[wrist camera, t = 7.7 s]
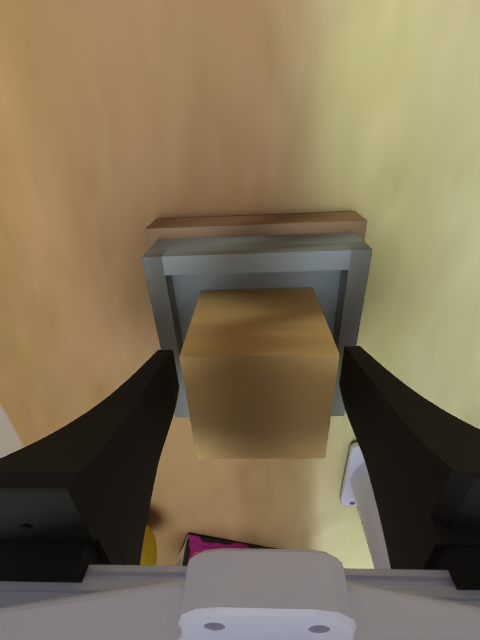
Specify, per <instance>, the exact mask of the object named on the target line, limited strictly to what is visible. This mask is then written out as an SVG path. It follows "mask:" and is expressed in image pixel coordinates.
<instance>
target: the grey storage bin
mask: <svg viewBox="0 0 480 640" xmlns="http://www.w3.org/2000/svg"><path fill="white" fill-rule="evenodd" d="M366 224H367V220H366V219H364V218H363V217H362V216H360V215H359V214H358V213H356V212H355V211H344V212H319V213H294V214H269V215H244V216H219V217H194V218H169V219H156V220H155V221H154V222H152V223H151V224H150V225H149V226H148V227H147V228H146V229H145V231H146V236H147V241H148V246H149V250H148V251H147V252H146V253H145V254H144V255H143V256H142V261H143V266H144V271H145V275H146V280H147V285H148V290H149V294H150V299H151V304H152V309H153V313H154V318H155V323H156V328H157V332H158V337H159V342H160V347H161V350H173V354H174V360H175V365H176V370H177V375H178V381H179V392H178V398H177V403H176V408H175V411H174V413H175V417H190V415H189V410H188V404H187V398H186V392H185V387H184V381H183V375H182V369H181V364H180V358H179V357H180V353H181V350H182V347H183V344H184V341H185V338H186V335H187V332H188V329H189V326H190V323H191V320H192V316H193V313H194V310H195V307H196V304H197V301H198V298H199V295H200V292H201V290H221V289H259V288H298V287H313V290H314V292H315V295H316V297H317V300H318V302H319V304H320V307H321V309H322V312H323V314H324V317H325V319H326V322H327V324H328V327H329V329H330V332H331V334H332V337H333V339H334V342H335V344H336V347H337V349H338V352H339V354H340V356H339V363H338V370H337V377H336V383H335V390H334V397H333V404H332V411H331V416H344V413H345V407H344V404H343V400H342V396H341V392H340V387H339V379H340V373H341V366H342V359H343V352H344V346H356V343H357V337H358V331H359V325H360V319H361V314H362V308H363V302H364V296H365V290H366V284H367V278H368V273H369V267H370V261H371V255H372V249H371V248H370V247H369V246H368V245H367V244H366V243H365V242H364V237H365V231H366Z"/></svg>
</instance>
